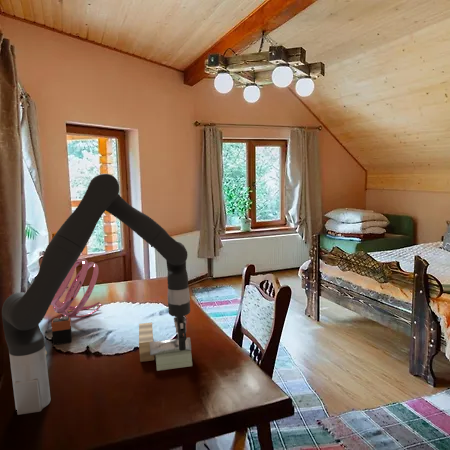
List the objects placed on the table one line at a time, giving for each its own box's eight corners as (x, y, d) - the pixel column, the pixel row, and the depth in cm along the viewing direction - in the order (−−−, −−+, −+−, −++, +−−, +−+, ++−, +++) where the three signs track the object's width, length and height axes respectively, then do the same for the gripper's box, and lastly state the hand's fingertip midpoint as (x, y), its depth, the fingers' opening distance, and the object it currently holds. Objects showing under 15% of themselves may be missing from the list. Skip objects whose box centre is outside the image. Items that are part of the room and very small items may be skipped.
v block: (192, 366, 134) (191, 354, 133) (156, 370, 132) (156, 359, 131) (188, 352, 144) (188, 342, 143) (155, 357, 141) (155, 346, 141)
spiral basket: (115, 263, 204) (66, 240, 191) (122, 290, 180) (67, 265, 166) (86, 306, 207) (35, 286, 193) (89, 338, 182) (32, 317, 169)
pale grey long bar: (189, 347, 141) (189, 335, 140) (191, 352, 136) (190, 340, 136) (150, 352, 138) (149, 340, 137) (150, 357, 133) (149, 345, 133)
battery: (71, 342, 156) (69, 318, 155) (53, 345, 154) (50, 321, 153) (72, 338, 161) (70, 314, 159) (54, 340, 159) (52, 317, 157)
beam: (154, 359, 139) (153, 341, 138) (140, 361, 138) (138, 343, 137) (153, 339, 157) (152, 322, 156) (140, 340, 156) (139, 323, 155)
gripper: (166, 294, 141) (169, 337, 144) (169, 308, 128) (172, 355, 130) (187, 292, 143) (189, 335, 145) (192, 305, 129) (194, 352, 131)
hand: (181, 344), depth 137 cm, fingers open, 8 cm apart
